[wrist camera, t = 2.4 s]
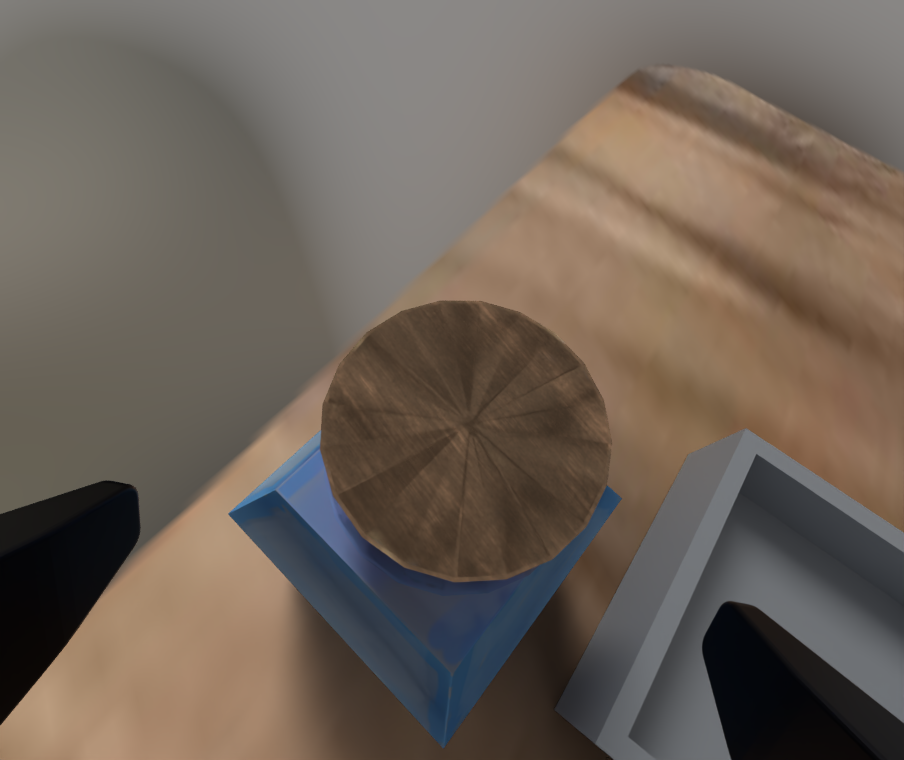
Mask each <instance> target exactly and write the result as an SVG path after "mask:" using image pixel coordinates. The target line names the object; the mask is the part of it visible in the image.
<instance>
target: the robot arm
mask: <svg viewBox="0 0 904 760" xmlns="http://www.w3.org/2000/svg"><path fill="white" fill-rule="evenodd" d="M139 535H140V514H139V497H138V491H137V489H136V488H135V487H134V486H132V485H130V484H125V483H120V482H115V481H101V482H98V483H95V484H91V485H88V486H85V487H82V488H79V489H76V490H73V491H70V492H67V493H64V494H61V495H58V496H55V497H52V498H49V499H46V500H43V501H39V502H36V503H33V504H30V505H28V506H24V507H21V508H18V509H15V510H12V511H9V512H6V513H3V514H0V725H1V724H2V723H3V722H4V720H5V719H6V718H7V717H8V716H9V714H10V713H11V712H12V711H13V709H14V708H15V707H16V706H17V705H18V703H19V702H20V701H21V700H22V699H23V697H24V696H25V695H26V694H27V693H28V691H29V690H30V689H31V688H32V686H33V685H34V684H35V683H36V682H37V680H38V679H39V678H40V677H41V676H42V674H43V673H44V672H45V671H46V670H47V668H48V667H49V666H50V665H51V663H52V662H53V661H54V660H55V658H56V657H57V656H58V655H59V653H60V652H61V651H62V650H63V648H64V647H65V646H66V644H67V643H68V642H69V640H70V639H71V638H72V636H73V635H74V633H75V632H76V631H77V629H78V628H79V627H80V625H81V624H82V622H83V621H84V619H85V618H86V616H87V615H88V613H89V612H90V611H91V609H92V608H93V606H94V605H95V603H96V602H97V600H98V599H99V597H100V596H101V595H102V593H103V592H104V590H105V589H106V587H107V586H108V584H109V583H110V581H111V580H112V579H113V577H114V576H115V574H116V573H117V571H118V570H119V568H120V567H121V565H122V564H123V563H124V561H125V560H126V558H127V557H128V555H129V554H130V552H131V551H132V550H133V548H134V546H135V545H136V543H137V541H138V538H139ZM702 654H703V658H704V662H705V666H706V670H707V673H708V677H709V681H710V684H711V688H712V692H713V696H714V699H715V703H716V707H717V711H718V714H719V718H720V722H721V725H722V729H723V733H724V737H725V740H726V744H727V748H728V751H729V755H730V758H731V760H904V723H903V722H902V721H901V720H899V719H898V718H897V717H896V716H894V715H893V714H892V713H891V712H889V711H888V710H887V709H885V708H884V707H883V706H882V705H880V704H879V703H878V702H877V701H875V700H874V699H873V698H872V697H870V696H869V695H868V694H866V693H865V692H864V691H863V690H861V689H860V688H859V687H858V686H856V685H855V684H854V683H853V682H851V681H850V680H849V679H847V678H846V677H845V676H844V675H842V674H841V673H840V672H839V671H837V670H836V669H835V668H834V667H832V666H831V665H830V664H828V663H827V662H826V661H825V660H823V659H822V658H821V657H820V656H818V655H817V654H816V653H815V652H813V651H812V650H811V649H809V648H808V647H807V646H806V645H804V644H803V643H802V642H801V641H799V640H798V639H797V638H796V637H794V636H793V635H792V634H790V633H789V632H788V631H787V630H785V629H784V628H783V627H782V626H780V625H779V624H778V623H777V622H775V621H774V620H773V619H771V618H770V617H769V616H768V615H766V614H765V613H764V612H763V611H761V610H760V609H759V608H757V607H755V606H753V605H750V604H745V603H740V602H735V601H726V602H724V603H723V604H721V606H720V607H719V609H718V611H717V613H716V615H715V616H714V618H713V620H712V622H711V624H710V626H709V628H708V629H707V631H706V633H705V635H704V637H703V641H702Z"/></svg>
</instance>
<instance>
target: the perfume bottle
mask: <svg viewBox="0 0 904 760" xmlns="http://www.w3.org/2000/svg"><path fill="white" fill-rule="evenodd" d="M611 447H612V440H611V434H610V429H609V424H608V419H607V414H606V409H605V404H604V400H603V398H602V396H601V394H600V392H599V390H598V388H597V387H596V385H595V383H594V381H593V379H592V377H591V375H590V373H589V371H588V370H587V368H586V366H585V364H584V363H583V361H582V360H581V359H580V358H579V357H578V356H577V355H576V354H575V353H574V352H573V351H572V350H571V349H570V348H569V347H568V346H567V345H566V344H565V343H564V342H563V341H562V340H561V339H560V338H559V337H558V336H557V334H556V333H554V332H552V331H551V330H549V329H547V328H546V327H544V326H542V325H541V324H539V323H537V322H536V321H534V320H532V319H531V318H529V317H527V316H526V315H524V314H522V313H521V312H518V311H514V310H511V309H507V308H504V307H500V306H497V305H493V304H489V303H486V302H482V301H437V302H434V303H430V304H426V305H423V306H419V307H415V308H411V309H408V310H404V311H401V312H399V313H398V314H396V315H395V316H393V317H391V318H390V319H388V320H386V321H385V322H383V323H381V324H380V325H378V326H377V327H375V328H373V329H372V330H370V331H368V332H367V333H366V334H365V335H364V336H363V337H362V339H361V340H360V341H359V342H358V343H357V344H356V346H355V347H354V348H353V349H352V350H351V351H350V352H349V354H348V355H347V356H346V357H345V358H344V359H343V361H342V362H341V363H340V364H339V366H338V369H337V371H336V373H335V376H334V378H333V381H332V383H331V385H330V388H329V390H328V393H327V395H326V397H325V400H324V402H323V408H322V424H321V430H320V431H319V432H318V433H317V434H316V435H315V436H314V437H313V438H312V439H311V440H309V441H308V442H307V443H306V444H305V445H304V446H303V447H302V448H301V449H299V450H298V451H297V452H296V453H295V454H294V455H293V456H292V457H291V458H289V459H288V460H287V461H286V462H285V463H284V464H283V465H282V466H281V467H279V468H278V469H277V470H276V471H275V472H274V473H273V474H272V475H271V476H270V477H268V478H267V479H266V480H265V481H264V482H263V483H262V484H261V485H260V486H258V487H257V488H256V489H255V490H254V491H253V492H252V493H251V494H250V495H248V496H247V497H246V498H245V499H244V500H243V501H242V502H241V503H240V504H238V505H237V506H236V507H235V508H234V509H233V510H232V511H231V512H230V513H229V515H230V517H231V518H232V519H233V520H234V521H235V522H236V523H237V524H238V525H239V526H240V527H241V529H242V530H243V531H244V532H245V533H246V534H247V535H248V536H249V537H250V538H251V539H252V541H253V542H254V543H255V544H256V545H257V546H258V547H259V548H260V549H261V550H262V551H263V553H264V554H265V555H266V556H267V557H268V558H269V559H270V560H271V561H272V562H273V563H274V565H275V566H276V567H277V568H278V569H279V570H280V571H281V572H282V573H283V574H284V575H285V577H286V578H287V579H288V580H289V581H290V582H291V583H292V584H293V585H294V586H295V587H296V588H297V590H298V591H299V592H300V593H301V594H302V595H303V596H304V597H305V598H306V599H307V600H308V602H309V603H310V604H311V605H312V606H313V607H314V608H315V609H316V610H317V611H318V612H319V614H320V615H321V616H322V617H323V618H324V619H325V620H326V621H327V622H328V623H329V624H330V626H331V627H332V628H333V629H334V630H335V631H336V632H337V633H338V634H339V635H340V636H341V638H342V639H343V640H344V641H345V642H346V643H347V644H348V645H349V646H350V647H351V648H352V650H353V651H354V652H355V653H356V654H357V655H358V656H359V657H360V658H361V659H362V660H363V662H364V663H365V664H366V665H367V666H368V667H369V668H370V669H371V670H372V671H373V672H374V674H375V675H376V676H377V677H378V678H379V679H380V680H381V681H382V682H383V683H384V684H385V686H386V687H387V688H388V689H389V690H390V691H391V692H392V693H393V694H394V695H395V696H396V698H397V699H398V700H399V701H400V702H401V703H402V704H403V705H404V706H405V707H406V708H407V709H408V711H409V712H410V713H411V714H412V715H413V716H414V717H415V718H416V719H417V720H418V721H419V723H420V724H421V725H422V726H423V727H424V728H425V729H426V730H427V731H428V732H429V733H430V735H431V736H432V737H433V738H434V739H435V740H436V741H437V742H438V743H439V744H440V745H441V747H442V748H444V747H445V746H446V744H447V743H448V741H449V740H450V739H451V737H452V736H453V734H454V733H455V732H456V730H457V729H458V727H459V726H460V725H461V723H462V722H463V720H464V719H465V718H466V716H467V715H468V713H469V712H470V711H471V709H472V708H473V706H474V705H475V704H476V702H477V701H478V699H479V698H480V697H481V695H482V694H483V692H484V691H485V690H486V688H487V687H488V685H489V684H490V683H491V681H492V680H493V678H494V677H495V676H496V674H497V673H498V671H499V670H500V669H501V667H502V666H503V664H504V663H505V662H506V660H507V659H508V657H509V656H510V655H511V653H512V652H513V650H514V649H515V648H516V646H517V645H518V643H519V642H520V641H521V639H522V638H523V636H524V635H525V634H526V632H527V631H528V629H529V628H530V627H531V625H532V624H533V622H534V621H535V620H536V618H537V617H538V615H539V614H540V613H541V611H542V610H543V608H544V607H545V606H546V604H547V603H548V601H549V600H550V599H551V597H552V596H553V594H554V593H555V592H556V590H557V589H558V587H559V586H560V585H561V583H562V582H563V580H564V579H565V577H566V576H567V575H568V573H569V572H570V570H571V569H572V568H573V566H574V565H575V563H576V562H577V561H578V559H579V558H580V556H581V555H582V554H583V552H584V551H585V549H586V548H587V547H588V545H589V544H590V542H591V541H592V540H593V538H594V537H595V535H596V534H597V533H598V531H599V530H600V528H601V527H602V526H603V524H604V523H605V521H606V520H607V519H608V517H609V516H610V514H611V513H612V512H613V510H614V509H615V507H616V506H617V505H618V503H619V502H620V500H621V499H622V498H621V497H620V496H618V495H617V494H616V493H615V492H614V491H613V490H612V489H611V488H609V487H608V486H607V479H608V471H609V463H610V455H611Z"/></svg>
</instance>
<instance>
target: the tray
mask: <svg viewBox="0 0 904 760" xmlns="http://www.w3.org/2000/svg"><path fill="white" fill-rule="evenodd" d="M726 601H735V602H740V603H745V604H750V605H753V606H755V607H757V608H759V609H760V610H761V611H763V612H764V613H765V614H766V615H768V616H769V617H770V618H771V619H773V620H774V621H775V622H777V623H778V624H779V625H780V626H782V627H783V628H784V629H785V630H787V631H788V632H789V633H790V634H792V635H793V636H794V637H796V638H797V639H798V640H799V641H801V642H802V643H803V644H804V645H806V646H807V647H808V648H809V649H811V650H812V651H813V652H815V653H816V654H817V655H818V656H820V657H821V658H822V659H823V660H825V661H826V662H827V663H828V664H830V665H831V666H832V667H834V668H835V669H836V670H837V671H839V672H840V673H841V674H842V675H844V676H845V677H846V678H847V679H849V680H850V681H851V682H853V683H854V684H855V685H856V686H858V687H859V688H860V689H861V690H863V691H864V692H865V693H866V694H868V695H869V696H870V697H872V698H873V699H874V700H875V701H877V702H878V703H879V704H880V705H882V706H883V707H884V708H885V709H887V710H888V711H889V712H891V713H892V714H893V715H894V716H896V717H897V718H898V719H899V720H901V721H902V722H903V723H904V533H903V532H902V531H900V530H899V529H897V528H896V527H894V526H893V525H891V524H890V523H888V522H887V521H885V520H884V519H882V518H881V517H879V516H878V515H876V514H875V513H873V512H872V511H870V510H869V509H867V508H865V507H864V506H862V505H861V504H859V503H858V502H856V501H855V500H853V499H852V498H850V497H849V496H847V495H846V494H844V493H843V492H841V491H840V490H838V489H837V488H835V487H834V486H832V485H831V484H829V483H828V482H826V481H825V480H823V479H822V478H820V477H819V476H817V475H816V474H814V473H813V472H811V471H810V470H808V469H807V468H805V467H804V466H802V465H801V464H799V463H798V462H796V461H795V460H793V459H792V458H790V457H789V456H787V455H786V454H784V453H783V452H781V451H780V450H778V449H777V448H775V447H774V446H772V445H771V444H769V443H767V442H766V441H764V440H763V439H761V438H760V437H758V436H757V435H755V434H754V433H752V432H751V431H749V430H748V429H743V430H741V431H739V432H737V433H735V434H732V435H730V436H728V437H726V438H723V439H721V440H719V441H717V442H715V443H712V444H710V445H708V446H706V447H703V448H701V449H699V450H697V451H695V452H692V453H690V454H688V456H687V458H686V460H685V462H684V464H683V466H682V468H681V470H680V472H679V473H678V475H677V477H676V479H675V481H674V483H673V485H672V487H671V489H670V491H669V492H668V494H667V496H666V498H665V500H664V502H663V504H662V506H661V508H660V510H659V511H658V513H657V515H656V517H655V519H654V521H653V523H652V525H651V527H650V529H649V530H648V532H647V534H646V536H645V538H644V540H643V542H642V544H641V546H640V548H639V549H638V551H637V553H636V555H635V557H634V559H633V561H632V563H631V565H630V567H629V568H628V570H627V572H626V574H625V576H624V578H623V580H622V582H621V584H620V586H619V587H618V589H617V591H616V593H615V595H614V597H613V599H612V601H611V603H610V605H609V606H608V608H607V610H606V612H605V614H604V616H603V618H602V620H601V622H600V624H599V625H598V627H597V629H596V631H595V633H594V635H593V637H592V639H591V641H590V643H589V644H588V646H587V648H586V650H585V652H584V654H583V656H582V658H581V660H580V662H579V664H578V665H577V667H576V669H575V671H574V673H573V675H572V677H571V679H570V681H569V683H568V684H567V686H566V688H565V690H564V692H563V694H562V696H561V698H560V700H559V702H558V703H557V705H556V707H555V709H554V710H555V711H556V712H557V713H559V714H560V715H561V716H562V717H563V718H565V719H566V720H567V721H568V722H569V723H570V724H572V725H573V726H574V727H575V728H576V729H578V730H579V731H580V732H581V733H582V734H584V735H585V736H586V737H587V738H588V739H589V740H591V741H592V742H593V743H594V744H595V745H597V746H598V747H599V748H600V749H601V750H603V751H604V752H605V753H606V754H607V755H608V756H610V757H611V758H612V759H613V760H731V758H730V755H729V751H728V748H727V744H726V740H725V737H724V733H723V729H722V725H721V722H720V718H719V714H718V711H717V707H716V703H715V699H714V696H713V692H712V688H711V684H710V681H709V677H708V673H707V670H706V666H705V662H704V658H703V654H702V641H703V637H704V635H705V633H706V631H707V629H708V628H709V626H710V624H711V622H712V620H713V618H714V616H715V615H716V613H717V611H718V609H719V607H720V606H721V604H723V603H724V602H726Z"/></svg>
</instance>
